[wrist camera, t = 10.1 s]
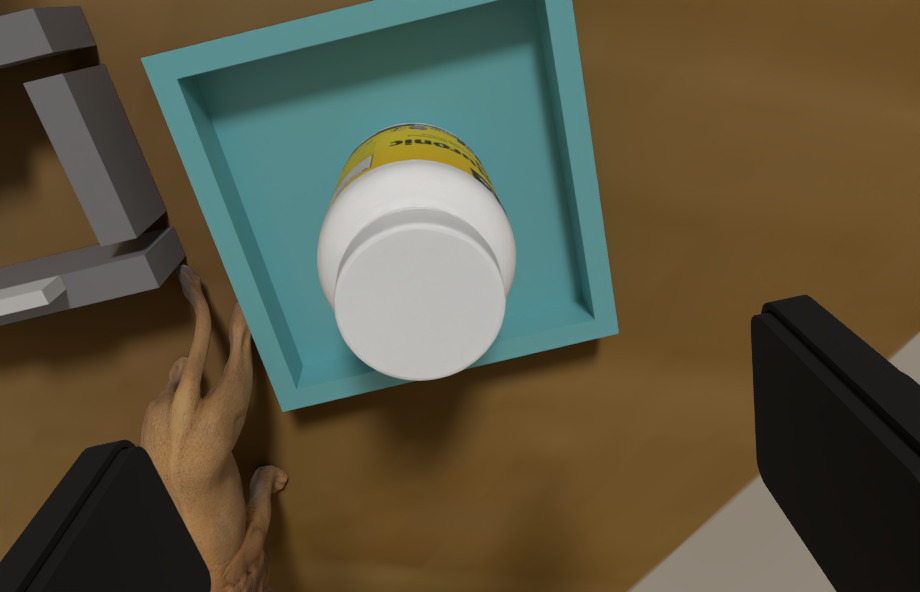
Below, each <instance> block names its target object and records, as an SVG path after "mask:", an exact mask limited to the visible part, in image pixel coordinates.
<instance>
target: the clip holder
mask: <svg viewBox="0 0 920 592" xmlns="http://www.w3.org/2000/svg"><path fill="white" fill-rule="evenodd" d="M95 45H96V43H95V41H94V39H93V36H92V34H91V32H90V29H89V27H88V25H87V22H86V20H85V18H84V15H83V13H82V11H81V8H80V6H77V7H47V8H31V9H27V10H23V11H19V12H15V13H11V14H7V15H3V16H0V69H3V68H7V67H11V66H15V65H19V64H23V63H27V62H31V61H35V60H39V59H43V58H47V57H51V56H55V55H59V54H63V53H67V52H71V51H75V50H79V49H83V48H87V47H91V46H95ZM23 84H24V87H25V89H26V91H27V93H28V95H29V97H30V99H31V101H32V103H33V105H34V107H35V110H36V112H37V114H38V116H39V118H40V120H41V122H42V124H43V126H44V128H45V130H46V133H47V135H48V137H49V139H50V141H51V143H52V145H53V147H54V149H55V151H56V153H57V156H58V158H59V160H60V162H61V164H62V166H63V168H64V170H65V172H66V174H67V176H68V179H69V181H70V183H71V185H72V187H73V189H74V191H75V193H76V195H77V197H78V199H79V202H80V204H81V206H82V208H83V210H84V212H85V214H86V216H87V218H88V220H89V222H90V225H91V227H92V229H93V231H94V233H95V235H96V237H97V239H98V241H99V243H100V244H98V245H93V246H89V247H85V248H81V249H77V250H73V251H69V252H64V253H60V254H56V255H52V256H48V257H44V258H40V259H35V260H31V261H27V262H23V263H19V264H15V265H11V266H6V267H2V268H0V326H1V325H5V324H9V323H14V322H18V321H22V320H26V319H30V318H34V317H39V316H43V315H47V314H51V313H55V312H60V311H64V310H68V309H72V308H76V307H80V306H85V305H89V304H93V303H97V302H101V301H105V300H110V299H114V298H118V297H122V296H126V295H131V294H135V293H139V292H143V291H147V290H151V289H156V288H159V287H160V286H161V285H162V284H163V283H164V281H165V280H166V279H167V278H168V277H169V275H170V274H171V273H172V272H173V271H174V269H175V268H176V267H177V266H178V265H179V263H180V262H181V261H182V260H183V259H184V257H185V256H186V255H185V253H184V251H183V248H182V246H181V244H180V241H179V239H178V237H177V234H176V232H175V230H174V227H173V226H172V227H168V228H164V229H160V230H156V231H151V232H147V233H143V232H144V231H145V230H146V229H147V228H148V227H149V226H151V225H152V224H153V223H154V222H155V221H156V220H157V219H158V218H159V217H161V216H162V215H163V214H164V213H165V212H166V208H165V206H164V204H163V201H162V199H161V197H160V194H159V192H158V190H157V187H156V185H155V182H154V180H153V178H152V175H151V173H150V171H149V168H148V166H147V164H146V161H145V159H144V157H143V154H142V152H141V149H140V147H139V145H138V142H137V140H136V138H135V135H134V133H133V131H132V128H131V126H130V124H129V121H128V119H127V117H126V114H125V112H124V109H123V107H122V105H121V102H120V100H119V98H118V95H117V93H116V91H115V88H114V86H113V84H112V81H111V79H110V76H109V74H108V72H107V69H106V67H105V65H104V64H102V65H98V66H93V67H89V68H85V69H80V70H76V71H72V72H67V73H63V74H59V75H55V76H51V77H47V78H43V79H39V80H35V81H31V82H26V83H23ZM142 233H143V234H142Z"/></svg>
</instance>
